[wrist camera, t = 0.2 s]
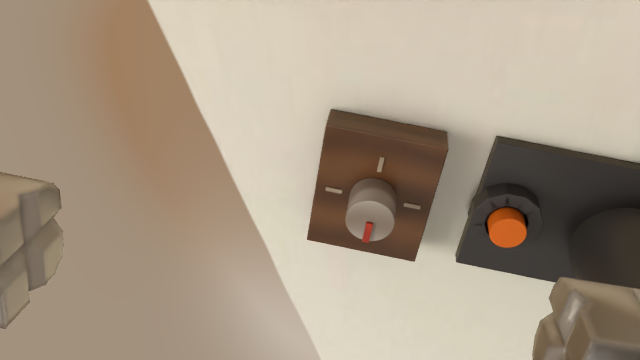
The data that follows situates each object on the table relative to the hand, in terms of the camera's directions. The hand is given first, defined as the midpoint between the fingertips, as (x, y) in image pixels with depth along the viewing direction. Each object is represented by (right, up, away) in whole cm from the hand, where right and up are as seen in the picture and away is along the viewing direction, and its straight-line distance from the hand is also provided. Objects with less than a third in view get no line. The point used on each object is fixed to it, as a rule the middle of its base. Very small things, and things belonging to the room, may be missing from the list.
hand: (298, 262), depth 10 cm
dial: (+5, 0, +42) cm, 42 cm away
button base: (+22, -2, +44) cm, 49 cm away
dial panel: (+5, +1, +45) cm, 45 cm away
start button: (+16, -2, +42) cm, 45 cm away
